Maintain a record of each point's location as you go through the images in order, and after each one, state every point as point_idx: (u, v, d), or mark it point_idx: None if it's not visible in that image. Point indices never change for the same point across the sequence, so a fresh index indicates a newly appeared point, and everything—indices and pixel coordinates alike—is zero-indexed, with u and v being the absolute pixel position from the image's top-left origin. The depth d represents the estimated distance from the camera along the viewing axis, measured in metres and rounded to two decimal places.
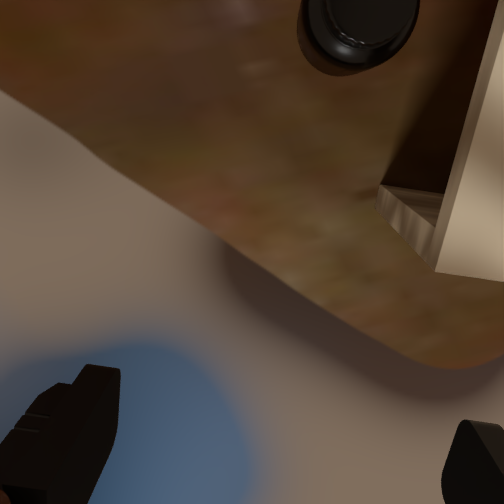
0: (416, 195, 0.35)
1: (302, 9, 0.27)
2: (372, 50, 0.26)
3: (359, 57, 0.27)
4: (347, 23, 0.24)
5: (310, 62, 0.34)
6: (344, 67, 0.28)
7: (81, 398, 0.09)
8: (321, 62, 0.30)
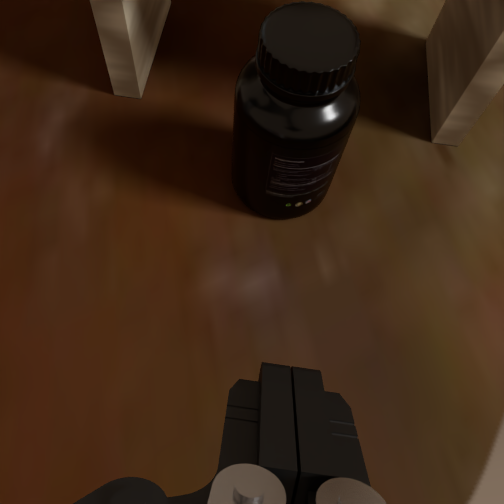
0: (447, 92, 0.33)
1: (304, 141, 0.23)
2: None
3: (353, 82, 0.24)
4: (342, 54, 0.21)
5: (321, 197, 0.30)
6: (359, 103, 0.25)
7: (277, 392, 0.10)
8: (343, 147, 0.26)
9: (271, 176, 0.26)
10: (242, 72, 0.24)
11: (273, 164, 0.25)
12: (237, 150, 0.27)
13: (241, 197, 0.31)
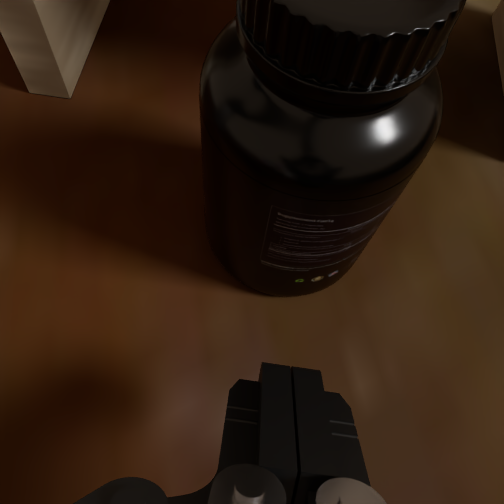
0: None
1: (337, 186, 0.11)
2: None
3: None
4: None
5: (354, 262, 0.18)
6: (442, 108, 0.13)
7: (277, 393, 0.10)
8: None
9: (270, 241, 0.14)
10: (213, 46, 0.12)
11: (274, 223, 0.13)
12: (209, 191, 0.15)
13: (220, 261, 0.19)
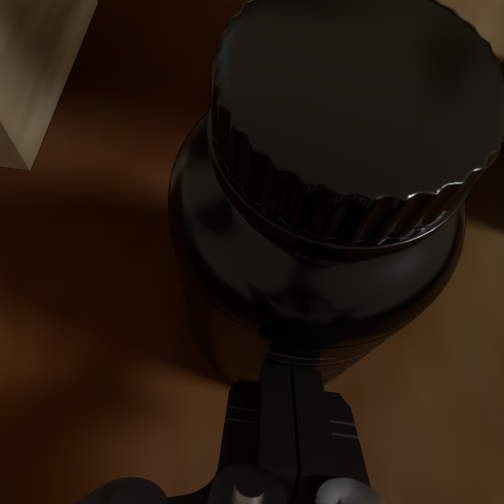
0: None
1: (340, 337, 0.09)
2: None
3: None
4: (466, 129, 0.07)
5: None
6: None
7: (277, 393, 0.10)
8: None
9: (259, 365, 0.12)
10: (183, 152, 0.10)
11: (264, 356, 0.11)
12: (186, 300, 0.13)
13: (205, 356, 0.16)
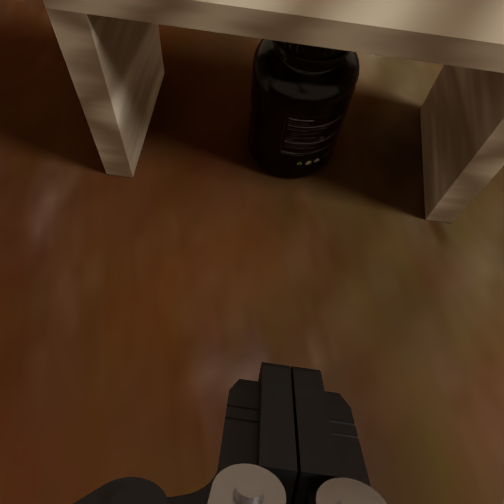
0: (440, 172, 0.33)
1: (313, 101, 0.28)
2: None
3: None
4: None
5: (327, 157, 0.35)
6: None
7: (277, 392, 0.10)
8: (346, 108, 0.31)
9: (285, 136, 0.31)
10: (259, 46, 0.29)
11: (287, 124, 0.30)
12: (255, 115, 0.32)
13: (257, 160, 0.35)
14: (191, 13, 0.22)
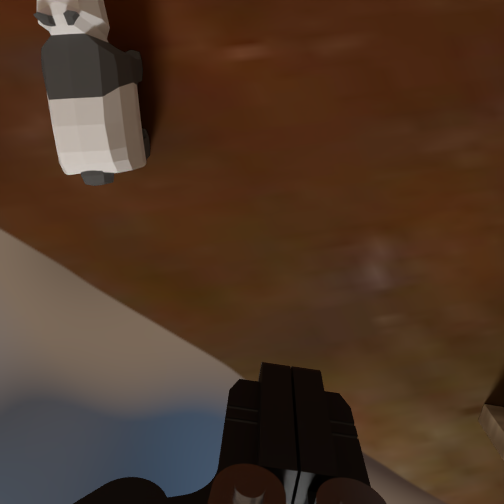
0: None
1: None
2: None
3: None
4: None
5: None
6: None
7: (277, 392, 0.10)
8: None
9: None
10: None
11: None
12: None
13: None
14: None
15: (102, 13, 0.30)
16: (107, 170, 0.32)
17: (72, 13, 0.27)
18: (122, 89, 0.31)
